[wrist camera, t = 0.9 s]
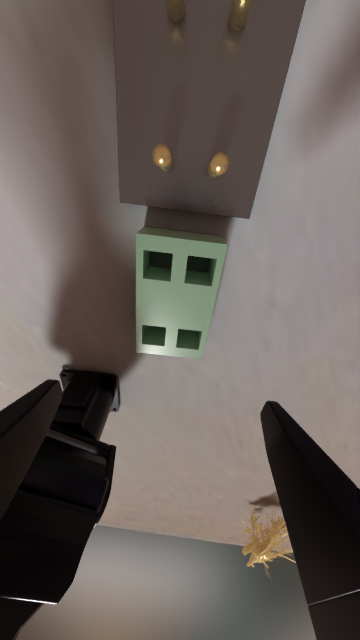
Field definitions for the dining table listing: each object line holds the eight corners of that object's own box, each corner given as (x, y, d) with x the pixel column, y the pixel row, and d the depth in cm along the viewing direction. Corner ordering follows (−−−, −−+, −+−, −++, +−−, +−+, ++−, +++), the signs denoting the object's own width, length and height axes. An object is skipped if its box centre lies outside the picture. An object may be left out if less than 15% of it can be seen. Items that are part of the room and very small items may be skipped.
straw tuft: (289, 499, 48) (326, 551, 40) (235, 538, 47) (262, 601, 39) (281, 478, 43) (322, 533, 35) (220, 521, 41) (247, 590, 33)
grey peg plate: (245, 217, 15) (262, 224, 12) (123, 201, 15) (105, 204, 12) (311, -45, 10) (379, -175, 6) (116, -79, 9) (75, -236, 6)
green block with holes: (200, 339, 21) (202, 359, 19) (142, 332, 21) (135, 352, 19) (221, 236, 16) (227, 244, 14) (144, 226, 16) (135, 233, 13)
